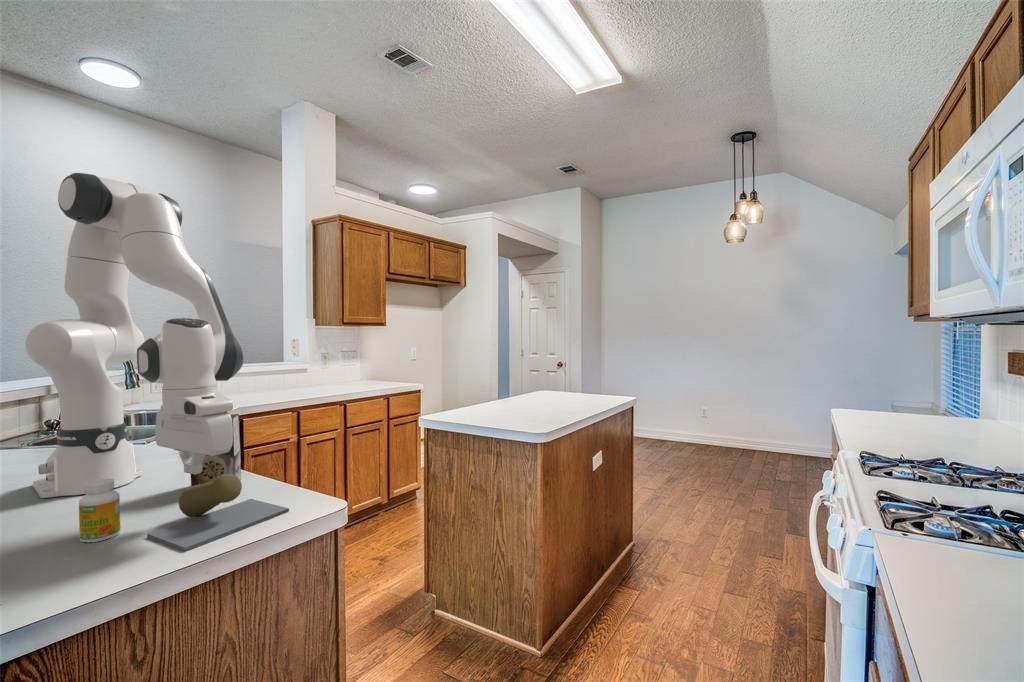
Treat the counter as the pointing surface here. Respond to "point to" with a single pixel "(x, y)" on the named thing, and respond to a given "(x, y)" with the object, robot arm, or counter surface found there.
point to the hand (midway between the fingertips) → (193, 472)
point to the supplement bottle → (99, 511)
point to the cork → (209, 495)
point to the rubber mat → (216, 524)
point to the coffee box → (221, 460)
